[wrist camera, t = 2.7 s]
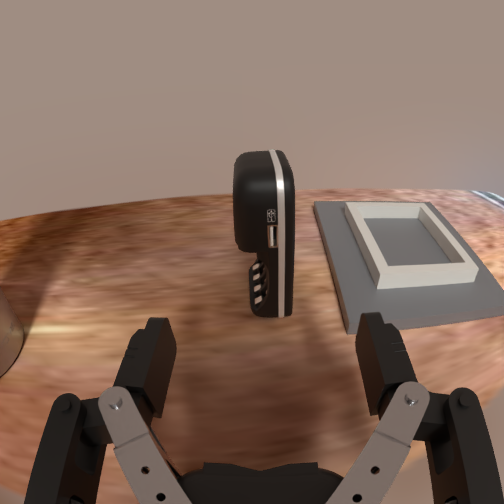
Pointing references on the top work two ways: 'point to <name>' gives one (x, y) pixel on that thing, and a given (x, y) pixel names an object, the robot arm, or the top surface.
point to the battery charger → (266, 228)
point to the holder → (404, 265)
